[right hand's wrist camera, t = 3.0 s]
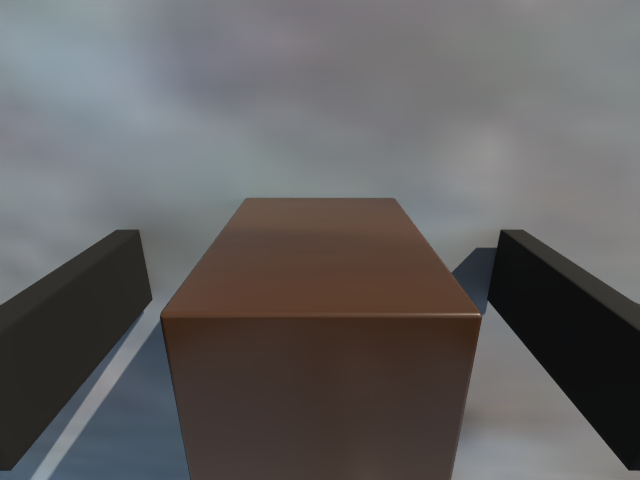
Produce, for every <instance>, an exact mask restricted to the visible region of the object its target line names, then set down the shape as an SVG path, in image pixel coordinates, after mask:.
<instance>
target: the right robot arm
mask: <svg viewBox="0 0 640 480" xmlns="http://www.w3.org/2000/svg"><path fill="white" fill-rule="evenodd" d="M487 300H488V301H489V302H490V303H491V305H492V306H493V307H494V308H495V309H496V311H497V312H498V313H499V314H500V316H501V317H502V318H503V319H504V320H505V322H506V323H507V324H508V325H509V326H510V328H511V329H512V330H513V331H514V332H515V334H516V335H517V336H518V337H519V338H520V340H521V341H522V342H523V343H524V344H525V346H526V347H527V348H528V349H529V351H530V352H531V353H532V354H533V355H534V357H535V358H536V359H537V360H538V361H539V363H540V364H541V365H542V366H543V367H544V369H545V370H546V371H547V372H548V373H549V375H550V376H551V377H552V378H553V380H554V381H555V382H556V383H557V384H558V386H559V387H560V388H561V389H562V390H563V392H564V393H565V394H566V395H567V396H568V398H569V399H570V400H571V401H572V402H573V404H574V405H575V406H576V407H577V409H578V410H579V411H580V412H581V413H582V415H583V416H584V417H585V418H586V419H587V421H588V422H589V423H590V424H591V425H592V427H593V428H594V429H595V430H596V431H597V433H598V434H599V435H600V436H601V438H602V439H603V440H604V441H605V442H606V444H607V445H608V446H609V447H610V448H611V450H612V451H613V452H614V453H615V454H616V456H617V457H618V458H619V459H620V460H621V462H622V463H623V464H624V465H625V467H626V468H627V469H628V470H640V304H637V303H635V302H633V301H631V300H630V299H628V298H627V297H625V296H624V295H622V294H621V293H619V292H618V291H616V290H615V289H613V288H612V287H610V286H608V285H607V284H605V283H604V282H602V281H601V280H599V279H598V278H596V277H595V276H593V275H592V274H590V273H588V272H587V271H585V270H584V269H582V268H581V267H579V266H578V265H576V264H575V263H573V262H572V261H570V260H569V259H567V258H565V257H564V256H562V255H561V254H559V253H558V252H556V251H555V250H553V249H552V248H550V247H549V246H547V245H546V244H544V243H542V242H541V241H539V240H538V239H536V238H535V237H533V236H532V235H530V234H529V233H527V232H526V231H524V230H501V231H500V236H499V241H498V246H497V252H496V257H495V262H494V267H493V272H492V277H491V282H490V287H489V293H488V298H487ZM151 301H152V294H151V289H150V284H149V279H148V274H147V269H146V264H145V259H144V254H143V248H142V243H141V238H140V233H139V230H116V231H114V232H113V233H111V234H109V235H108V236H106V237H105V238H103V239H102V240H100V241H99V242H97V243H96V244H94V245H93V246H91V247H90V248H88V249H86V250H85V251H83V252H82V253H80V254H79V255H77V256H76V257H74V258H73V259H71V260H70V261H68V262H66V263H65V264H63V265H62V266H60V267H59V268H57V269H56V270H54V271H53V272H51V273H50V274H48V275H47V276H45V277H43V278H42V279H40V280H39V281H37V282H36V283H34V284H33V285H31V286H30V287H28V288H27V289H25V290H23V291H22V292H20V293H19V294H17V295H16V296H14V297H13V298H11V299H10V300H8V301H7V302H5V303H4V304H2V305H0V471H11V470H12V468H13V467H14V466H15V465H16V464H17V462H18V461H19V460H20V459H21V458H22V456H23V455H24V454H25V453H26V452H27V450H28V449H29V448H30V447H31V446H32V444H33V443H34V442H35V441H36V439H37V438H38V437H39V436H40V435H41V433H42V432H43V431H44V430H45V429H46V427H47V426H48V425H49V424H50V423H51V421H52V420H53V419H54V418H55V417H56V415H57V414H58V413H59V412H60V410H61V409H62V408H63V407H64V406H65V404H66V403H67V402H68V401H69V400H70V398H71V397H72V396H73V395H74V394H75V392H76V391H77V390H78V389H79V388H80V386H81V385H82V384H83V383H84V382H85V380H86V379H87V378H88V377H89V375H90V374H91V373H92V372H93V371H94V369H95V368H96V367H97V366H98V365H99V363H100V362H101V361H102V360H103V359H104V357H105V356H106V355H107V354H108V353H109V351H110V350H111V349H112V348H113V346H114V345H115V344H116V343H117V342H118V340H119V339H120V338H121V337H122V336H123V334H124V333H125V332H126V331H127V330H128V328H129V327H130V326H131V325H132V324H133V322H134V321H135V320H136V319H137V318H138V316H139V315H140V314H141V313H142V311H143V310H144V309H145V308H146V307H147V305H148V304H149V303H150V302H151Z"/></svg>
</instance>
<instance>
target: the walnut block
mask: <svg viewBox="0 0 640 480" xmlns="http://www.w3.org/2000/svg"><path fill="white" fill-rule="evenodd" d="M160 320H161V325H162V331H163V336H164V341H165V347H166V352H167V357H168V363H169V368H170V373H171V379H172V384H173V389H174V395H175V400H176V405H177V411H178V416H179V421H180V426H181V432H182V437H183V442H184V448H185V453H186V458H187V464H188V469H189V474H190V480H451V477H452V471H453V466H454V461H455V456H456V451H457V445H458V440H459V435H460V430H461V424H462V419H463V414H464V409H465V404H466V398H467V393H468V388H469V383H470V377H471V372H472V367H473V362H474V357H475V351H476V346H477V341H478V336H479V331H480V325H481V320H482V315H481V312H480V311H479V309H478V308H477V307H476V305H475V304H474V303H473V301H472V300H471V299H470V297H469V296H468V295H467V293H466V292H465V291H464V289H463V288H462V287H461V286H460V284H459V283H458V282H457V280H456V279H455V278H454V276H453V275H452V274H451V272H450V271H449V270H448V268H447V267H446V266H445V264H444V263H443V262H442V260H441V259H440V258H439V256H438V255H437V254H436V252H435V251H434V250H433V248H432V247H431V246H430V244H429V243H428V242H427V240H426V239H425V238H424V236H423V235H422V234H421V233H420V231H419V230H418V229H417V227H416V226H415V225H414V223H413V222H412V221H411V219H410V218H409V217H408V215H407V214H406V213H405V211H404V210H403V209H402V207H401V206H400V205H399V203H398V202H397V201H396V199H394V198H247V199H245V200H244V202H243V203H242V204H241V206H240V207H239V208H238V210H237V211H236V213H235V214H234V215H233V217H232V218H231V219H230V221H229V222H228V223H227V225H226V226H225V227H224V229H223V230H222V231H221V233H220V234H219V235H218V237H217V238H216V239H215V241H214V242H213V243H212V245H211V246H210V247H209V249H208V250H207V251H206V253H205V254H204V255H203V257H202V258H201V260H200V261H199V262H198V264H197V265H196V266H195V268H194V269H193V270H192V272H191V273H190V274H189V276H188V277H187V278H186V280H185V281H184V282H183V284H182V285H181V286H180V288H179V289H178V290H177V292H176V293H175V294H174V296H173V297H172V298H171V300H170V301H169V302H168V304H167V305H166V306H165V308H164V309H163V311H162V312H161V314H160Z"/></svg>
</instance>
